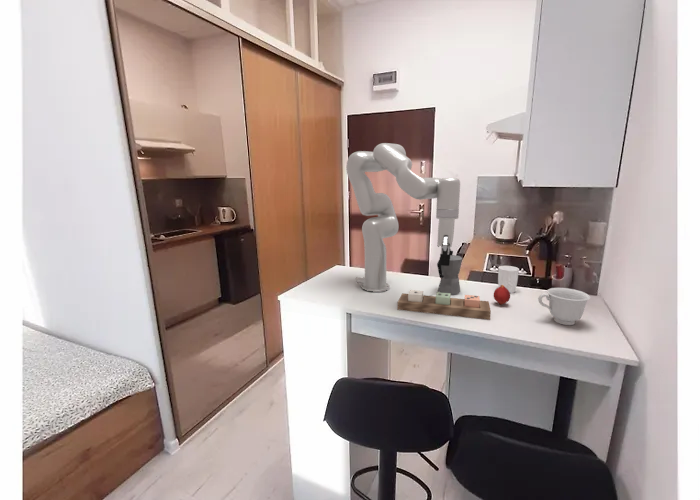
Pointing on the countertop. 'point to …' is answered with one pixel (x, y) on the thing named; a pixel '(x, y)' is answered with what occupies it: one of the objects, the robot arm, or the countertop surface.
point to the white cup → (508, 277)
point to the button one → (415, 296)
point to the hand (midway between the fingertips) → (445, 262)
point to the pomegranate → (501, 295)
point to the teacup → (565, 304)
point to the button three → (472, 301)
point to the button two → (443, 298)
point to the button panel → (445, 307)
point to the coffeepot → (450, 275)
